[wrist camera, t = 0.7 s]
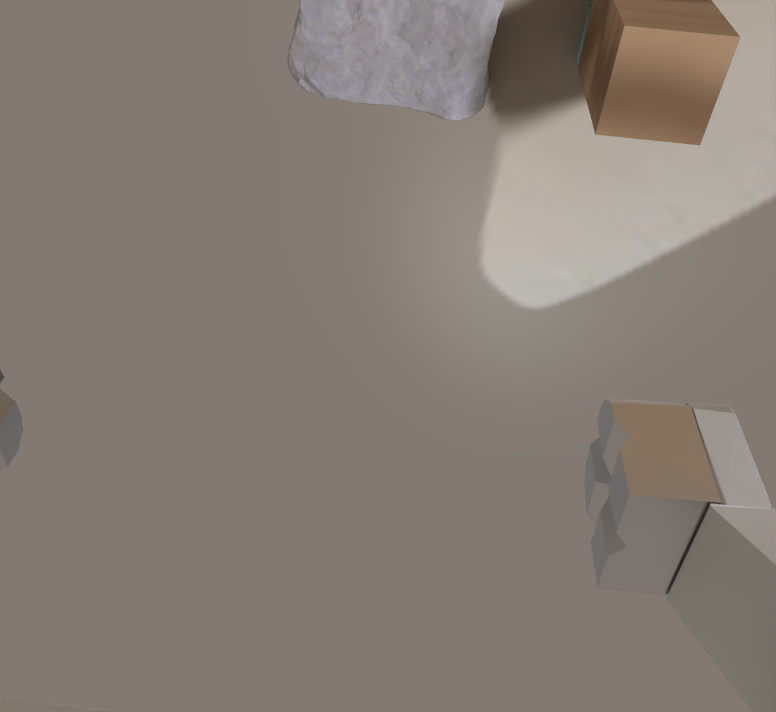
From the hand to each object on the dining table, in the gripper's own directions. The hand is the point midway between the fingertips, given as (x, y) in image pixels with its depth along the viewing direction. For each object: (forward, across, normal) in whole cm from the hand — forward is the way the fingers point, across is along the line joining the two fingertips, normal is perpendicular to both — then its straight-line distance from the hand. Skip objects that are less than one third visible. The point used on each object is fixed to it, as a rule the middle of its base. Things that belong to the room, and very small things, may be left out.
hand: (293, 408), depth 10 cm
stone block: (+38, +2, +4) cm, 38 cm away
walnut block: (+37, -11, +5) cm, 39 cm away
